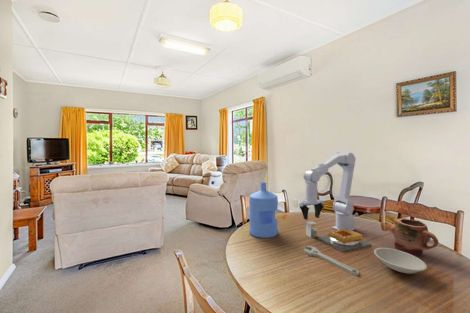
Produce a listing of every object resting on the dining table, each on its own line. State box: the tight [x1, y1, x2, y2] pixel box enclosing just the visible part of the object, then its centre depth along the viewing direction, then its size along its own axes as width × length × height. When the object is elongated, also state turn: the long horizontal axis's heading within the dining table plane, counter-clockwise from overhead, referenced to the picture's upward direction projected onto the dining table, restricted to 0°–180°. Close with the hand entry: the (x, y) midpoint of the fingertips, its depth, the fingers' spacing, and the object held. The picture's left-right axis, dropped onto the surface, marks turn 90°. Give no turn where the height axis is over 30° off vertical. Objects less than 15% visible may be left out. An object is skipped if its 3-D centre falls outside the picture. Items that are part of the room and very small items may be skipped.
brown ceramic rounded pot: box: [389, 218, 439, 257], centre depth 101 cm, size 20×12×14 cm, turn 20°
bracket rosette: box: [317, 228, 372, 253], centre depth 113 cm, size 18×16×4 cm
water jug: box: [248, 181, 279, 239], centre depth 125 cm, size 16×16×28 cm
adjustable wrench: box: [303, 245, 360, 276], centre depth 94 cm, size 25×6×2 cm, turn 27°
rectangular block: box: [305, 220, 318, 238], centre depth 121 cm, size 4×4×7 cm
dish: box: [373, 247, 428, 274], centre depth 87 cm, size 18×14×5 cm
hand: (311, 218), depth 121 cm, fingers open, 7 cm apart
